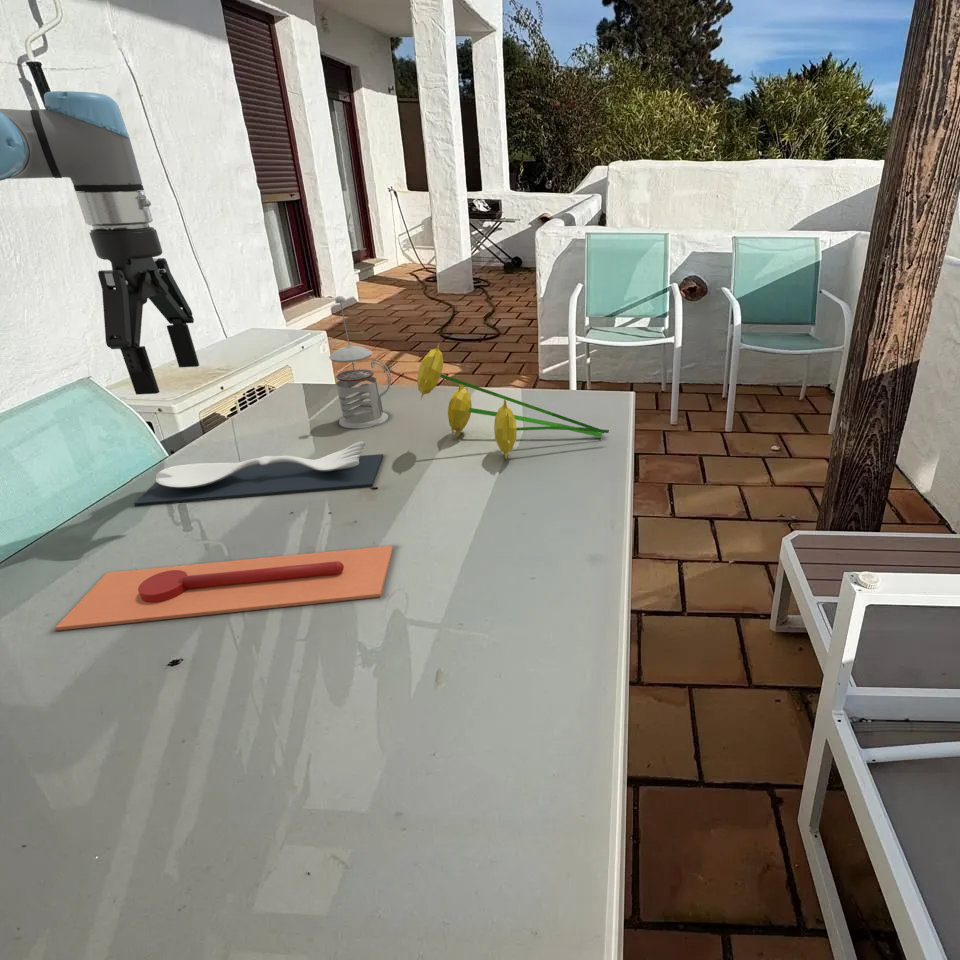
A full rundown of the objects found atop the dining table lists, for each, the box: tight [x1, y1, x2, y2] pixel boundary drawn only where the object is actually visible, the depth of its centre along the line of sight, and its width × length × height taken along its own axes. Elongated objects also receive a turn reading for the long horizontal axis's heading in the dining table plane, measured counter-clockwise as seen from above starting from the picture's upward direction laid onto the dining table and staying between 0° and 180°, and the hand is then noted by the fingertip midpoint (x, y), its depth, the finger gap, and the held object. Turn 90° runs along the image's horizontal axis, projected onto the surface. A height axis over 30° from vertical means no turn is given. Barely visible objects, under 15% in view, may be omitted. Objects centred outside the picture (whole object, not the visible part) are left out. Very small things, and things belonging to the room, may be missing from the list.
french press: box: [328, 295, 392, 429], centre depth 126 cm, size 10×12×25 cm
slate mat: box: [133, 453, 384, 507], centre depth 107 cm, size 36×12×1 cm, turn 99°
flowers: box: [416, 342, 610, 461], centre depth 117 cm, size 16×22×35 cm
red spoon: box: [138, 561, 344, 603], centre depth 79 cm, size 24×5×2 cm, turn 99°
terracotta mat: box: [55, 545, 394, 631], centre depth 80 cm, size 36×11×1 cm, turn 99°
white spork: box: [155, 440, 366, 488], centre depth 106 cm, size 9×32×4 cm, turn 101°
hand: (170, 379), depth 95 cm, fingers open, 13 cm apart
